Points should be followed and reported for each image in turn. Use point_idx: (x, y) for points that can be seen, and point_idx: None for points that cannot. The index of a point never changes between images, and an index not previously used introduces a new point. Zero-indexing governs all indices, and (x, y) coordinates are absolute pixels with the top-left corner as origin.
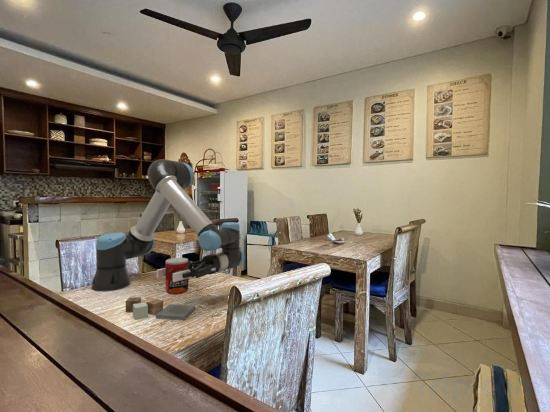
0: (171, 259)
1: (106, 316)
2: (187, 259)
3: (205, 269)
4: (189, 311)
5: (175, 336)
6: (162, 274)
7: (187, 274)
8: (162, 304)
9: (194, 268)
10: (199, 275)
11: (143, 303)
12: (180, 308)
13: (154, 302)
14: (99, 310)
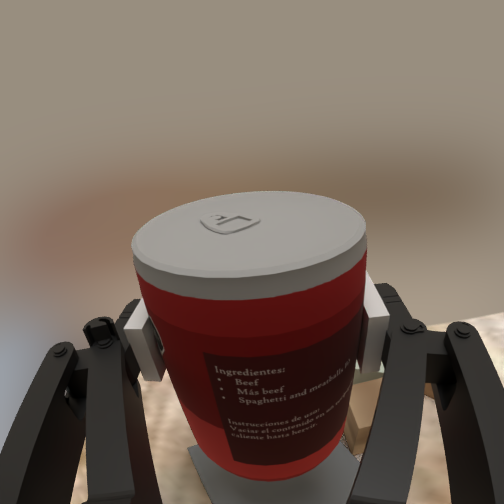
0: (340, 218)
1: (429, 327)
2: (157, 260)
3: (18, 431)
4: (207, 493)
5: (140, 374)
6: None
7: (123, 318)
8: (355, 435)
9: (116, 387)
10: (73, 406)
11: (381, 364)
12: (278, 493)
13: (361, 394)
14: (484, 324)
